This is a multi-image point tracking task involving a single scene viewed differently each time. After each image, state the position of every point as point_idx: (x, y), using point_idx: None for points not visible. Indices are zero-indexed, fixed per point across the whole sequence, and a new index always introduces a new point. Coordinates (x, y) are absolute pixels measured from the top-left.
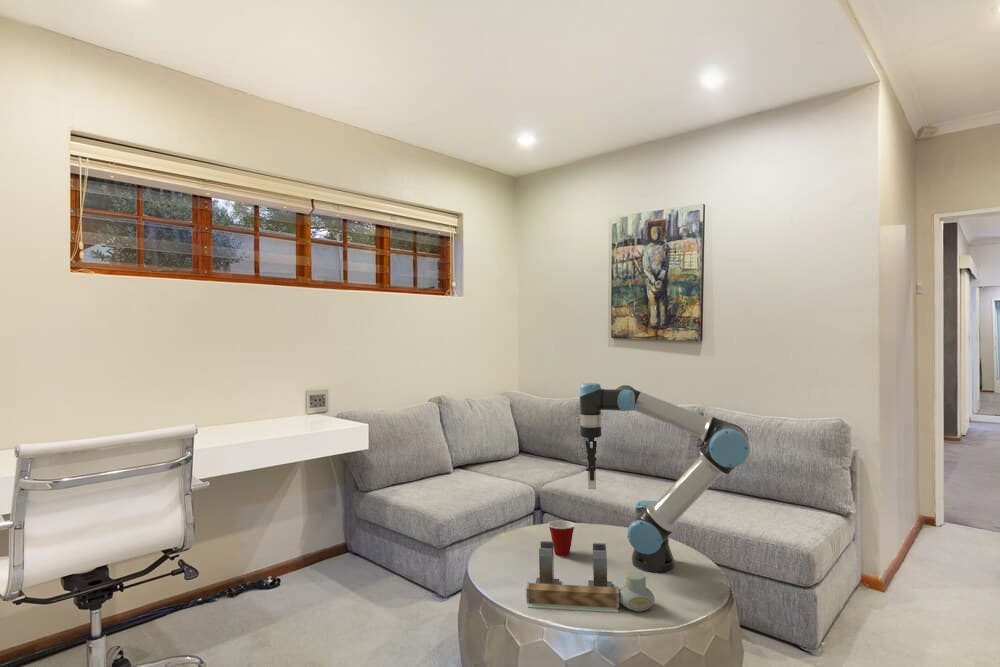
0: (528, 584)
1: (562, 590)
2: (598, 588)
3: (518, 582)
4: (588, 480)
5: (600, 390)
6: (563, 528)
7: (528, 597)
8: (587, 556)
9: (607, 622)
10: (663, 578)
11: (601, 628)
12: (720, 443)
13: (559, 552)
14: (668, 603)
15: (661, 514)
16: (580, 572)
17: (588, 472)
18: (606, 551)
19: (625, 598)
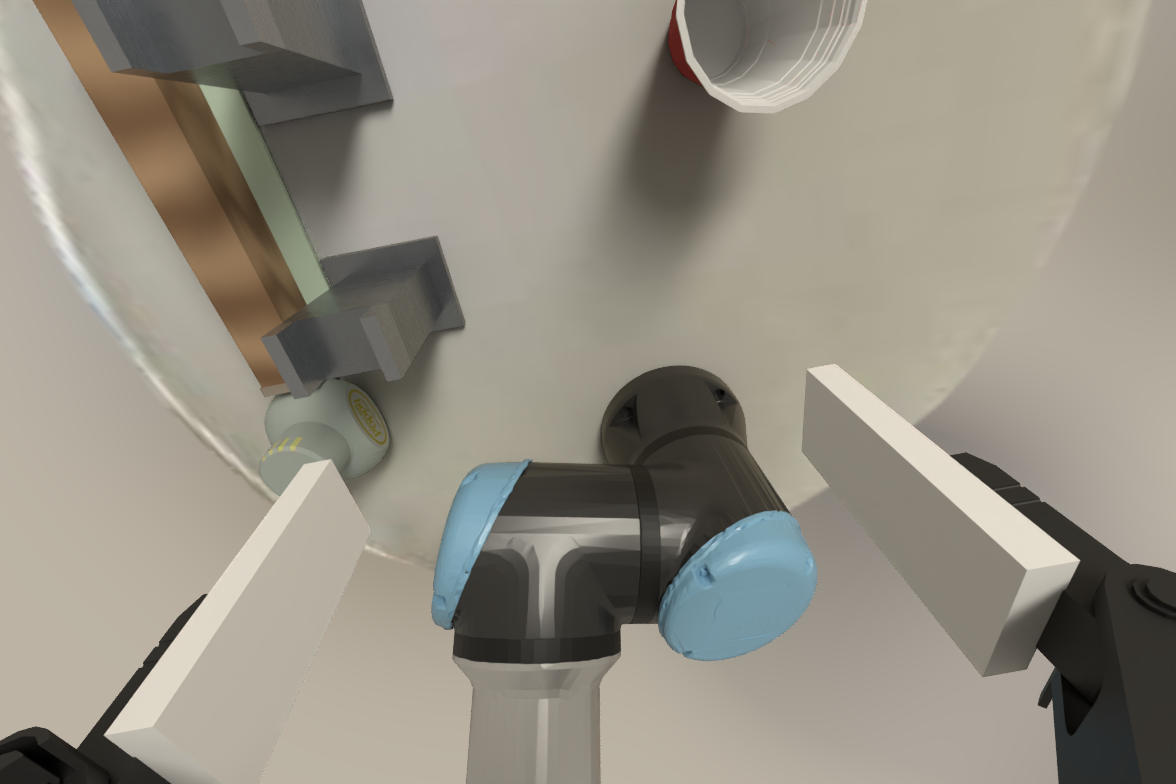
0: None
1: (143, 174)
2: (263, 322)
3: None
4: (241, 557)
5: None
6: (681, 36)
7: None
8: (694, 183)
9: (186, 349)
10: (566, 462)
11: (136, 338)
12: None
13: (670, 25)
14: (408, 485)
15: (472, 701)
16: (518, 183)
17: (143, 698)
18: (300, 397)
19: (268, 412)
